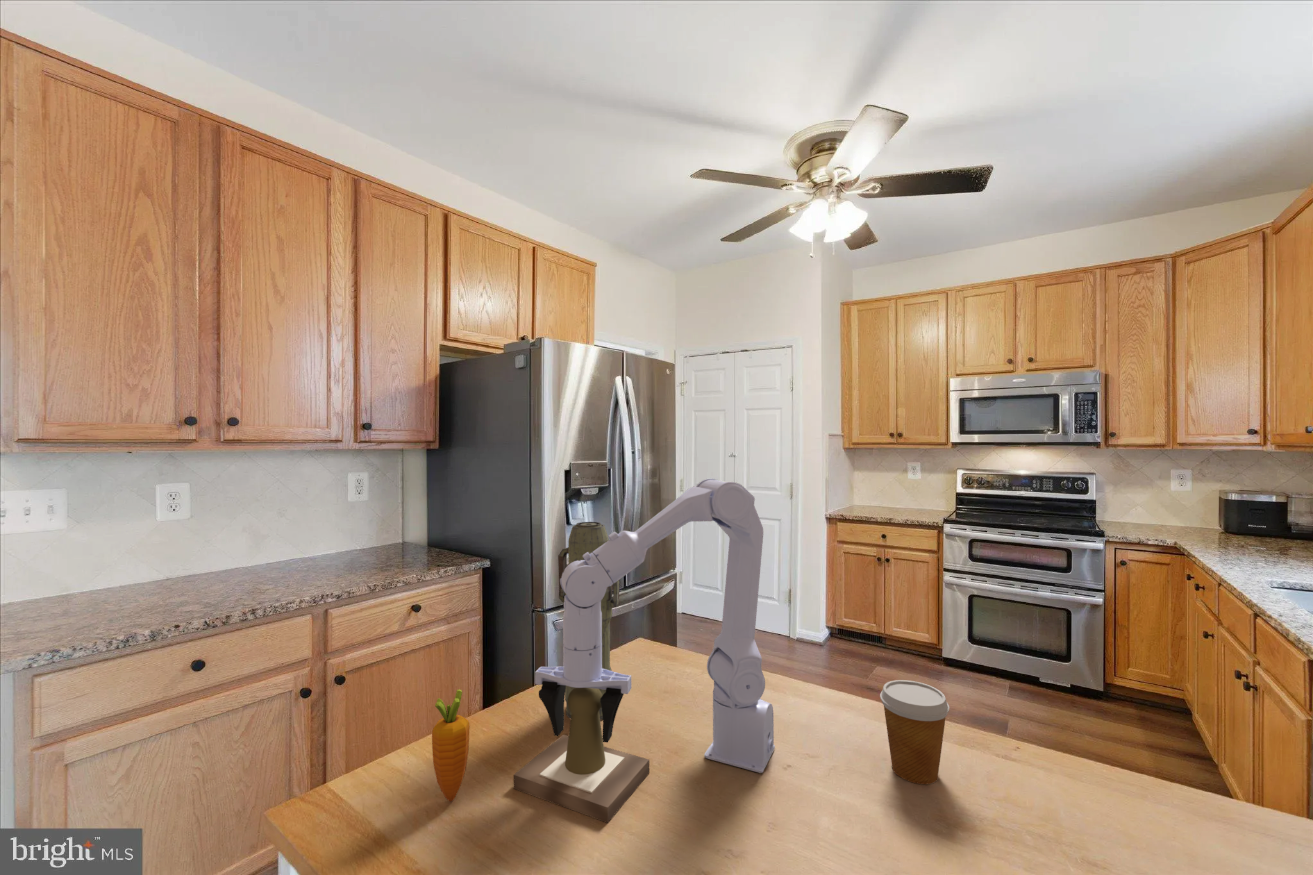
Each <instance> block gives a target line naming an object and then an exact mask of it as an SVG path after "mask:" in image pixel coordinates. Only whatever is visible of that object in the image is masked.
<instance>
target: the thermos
mask: <svg viewBox="0 0 1313 875" xmlns="http://www.w3.org/2000/svg"><path fill="white" fill-rule="evenodd" d="M608 536H609V534H608V532H607V530H606V526H605V524H602V523H601V522H597V521H581V522H577V523H576V524H573V525H572V527H571V531H570V534H569V536H568V541H567V542H568V544H567V545H568V547H565V548H562V550H561V551H560V553H559V554H558V560H557V561H558V562H557V564H558V565H557V566H558V588H559V589H558V591H559V592H558V599H559V600H560V601H561V603H563V604H564V596H565V595H566V593H565V592H564V591H563V589H562V587H561V584H560V579H561V578H562V574H563V573H564V570H565V568H566V567H567V566H568V565H569V564H570V563H572V562H574V561H581V560H584V558H583V555H584V554H585V553H587V552H588V553H589V554H590V553H593V551H594V550H596V549H597V548H599V547H600V546H602V545H603V544H604V543H606V542H607V541H609V540H610V539H609V537H608ZM567 555H568V558H567ZM567 560H568V562H567ZM612 586H613V587H612ZM619 601H620V579H619V580H618V581H617V582H615V583H613V585H611V586H608V587H607V589H606V592H605V595H604V597H603V599H602V600H601V612H602V668H603V669H606V670H610V671H613V670H612V668H611V657H610V656H611V620H612V617H613V607H618V605H619ZM574 688H575V687H570V686H566V689H565V698H564V702H566V707H565V715H566V716H567V718H569V719H570V720H571V711H570V710H569V707H568V697H569V694H570V692H571V690H572V689H574ZM599 690H600V691H601V693H602V696H603V694H604V693H605V692H606V690H604V689H599ZM599 715H600V721H601V720H602V721H603V715H602V708H600V710H599Z"/></svg>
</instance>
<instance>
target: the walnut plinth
mask: <svg viewBox="0 0 1313 875" xmlns="http://www.w3.org/2000/svg"><path fill="white" fill-rule="evenodd" d="M568 737H569V735H566V734H562V735H561V736H560V737H558V738H557V739H556V740H555V741H554V742H552V743H551V744H549V745H548V747H546V748H545V749H544V750H542V751H541V752H540V753H539V754H537V755H536V756H535V757H533V758H532V759H530V761H529V762H527V763H526V764H525V765H524V766H523V767H522V768H520V769H519V770H517V771H516V772H515V773H514V774H513V789H514V790H515V791H520V792H522V793H524V794H528V795H530V796H533V797H536V798H539V799H540V800H544V801H547V802H550V803H551V804H555V805H558V806H560V807H563V808H565V809H568V810H571V811H575V812H577V813H580V814H582V815H585V816H587V817H590V818H594V819H596V820H599V821H601V822H605V823H607V824H608V823H609V822H610V821H611V820H612V818H614V817H615V815H616V814H617V812H618V811H619V810H620V809H621V808H622V807H623V806H624V804H625V803H626V802H627V800H628V799H629V798H630V797H631V796H632V794H634V792H635V791H636V790H637V788H639V786H640V785H641V784H642V783H643V781H644V780H645V779H646V778H647V777H648V776H649V774H650V758H649V759H648V758H645V757H641V756H638V755H636V754H635V755H634V754H632V753H628V752H625V751H621V750H617V749H614V748H610V747H608V746H604V753H605V765H604V766H603V767H602V768H601V769H600V770H599V771H597V772H594V773H591V774H585V775H580V774H574V773H572V772H569V771H568V770H567V769H566V767H565V761H566V753H567V745H568Z"/></svg>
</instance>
